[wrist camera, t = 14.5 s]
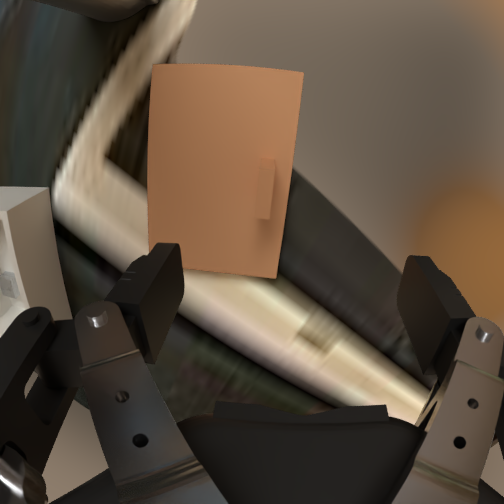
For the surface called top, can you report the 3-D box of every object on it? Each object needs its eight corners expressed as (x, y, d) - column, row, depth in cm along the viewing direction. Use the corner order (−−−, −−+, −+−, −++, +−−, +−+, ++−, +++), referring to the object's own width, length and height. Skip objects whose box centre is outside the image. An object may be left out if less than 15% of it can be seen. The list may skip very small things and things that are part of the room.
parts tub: (49, 187, 32) (6, 211, 25) (73, 322, 41) (48, 358, 34) (-15, 186, 32) (-54, 207, 25) (13, 306, 41) (-14, 335, 34)
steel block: (18, 273, 37) (10, 280, 35) (23, 291, 38) (15, 298, 36) (5, 270, 37) (-3, 277, 35) (10, 288, 38) (2, 295, 36)
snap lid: (301, 74, 26) (311, 66, 20) (275, 269, 36) (276, 306, 29) (159, 66, 26) (131, 59, 20) (155, 255, 36) (133, 288, 29)
